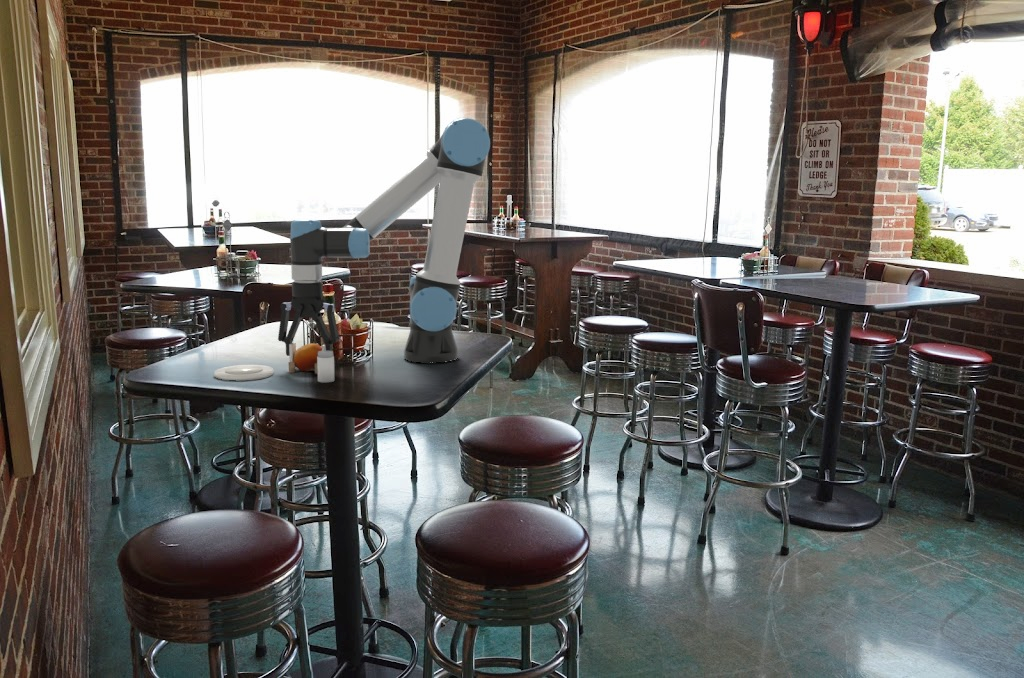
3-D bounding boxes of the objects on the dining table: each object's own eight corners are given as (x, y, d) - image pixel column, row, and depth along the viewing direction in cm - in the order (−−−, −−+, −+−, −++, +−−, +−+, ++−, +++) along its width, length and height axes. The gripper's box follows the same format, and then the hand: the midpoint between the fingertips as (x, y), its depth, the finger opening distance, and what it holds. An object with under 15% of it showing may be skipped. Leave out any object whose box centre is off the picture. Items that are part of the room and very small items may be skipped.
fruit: (324, 368, 204) (308, 341, 204) (299, 382, 206) (283, 355, 206) (337, 362, 212) (321, 335, 212) (313, 376, 214) (298, 349, 214)
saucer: (281, 369, 209) (281, 364, 209) (260, 381, 196) (259, 376, 195) (229, 367, 210) (229, 362, 210) (204, 379, 197) (204, 373, 197)
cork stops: (330, 367, 213) (330, 357, 213) (320, 373, 205) (319, 364, 205) (299, 365, 214) (299, 356, 214) (287, 372, 206) (287, 363, 205)
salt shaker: (336, 379, 200) (336, 350, 199) (331, 382, 196) (330, 353, 195) (320, 378, 200) (320, 349, 199) (315, 382, 196) (314, 352, 195)
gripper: (351, 280, 208) (352, 367, 212) (273, 278, 210) (276, 364, 214) (342, 283, 201) (344, 373, 205) (261, 281, 203) (264, 370, 207)
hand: (309, 368), depth 210 cm, fingers closed on fruit, 8 cm apart
